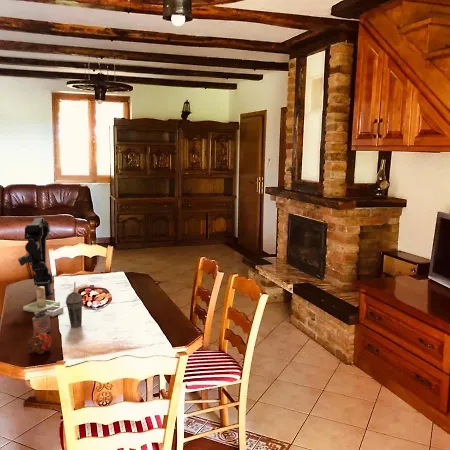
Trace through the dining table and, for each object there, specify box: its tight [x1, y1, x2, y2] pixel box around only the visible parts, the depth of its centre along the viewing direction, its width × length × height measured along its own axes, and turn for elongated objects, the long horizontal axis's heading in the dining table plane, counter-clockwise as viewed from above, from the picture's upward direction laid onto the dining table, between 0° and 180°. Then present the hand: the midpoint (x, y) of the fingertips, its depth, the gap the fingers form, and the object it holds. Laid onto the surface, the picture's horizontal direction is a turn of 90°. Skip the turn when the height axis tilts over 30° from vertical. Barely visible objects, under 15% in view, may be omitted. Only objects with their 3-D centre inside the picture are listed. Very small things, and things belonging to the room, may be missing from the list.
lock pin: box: [35, 286, 47, 308], centre depth 240 cm, size 4×4×10 cm
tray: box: [22, 299, 61, 313], centre depth 241 cm, size 12×12×2 cm
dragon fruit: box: [27, 332, 53, 355], centre depth 190 cm, size 8×8×12 cm
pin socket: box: [45, 305, 65, 318], centre depth 233 cm, size 7×7×2 cm
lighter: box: [31, 309, 52, 336], centre depth 209 cm, size 8×3×10 cm, turn 148°
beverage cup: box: [65, 281, 84, 329], centre depth 214 cm, size 7×7×20 cm
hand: (38, 278), depth 246 cm, fingers open, 9 cm apart
